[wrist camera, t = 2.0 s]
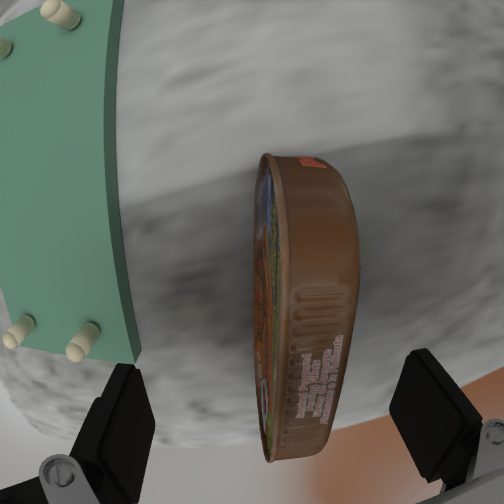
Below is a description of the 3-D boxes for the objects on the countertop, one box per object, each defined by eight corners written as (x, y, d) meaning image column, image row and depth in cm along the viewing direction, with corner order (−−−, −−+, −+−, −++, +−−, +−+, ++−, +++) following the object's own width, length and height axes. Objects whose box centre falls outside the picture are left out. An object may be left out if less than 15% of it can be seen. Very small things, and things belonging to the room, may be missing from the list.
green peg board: (125, -11, 12) (94, -47, 7) (141, 350, 19) (119, 397, 14) (5, 34, 12) (-37, 22, 7) (30, 335, 19) (-2, 369, 14)
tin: (254, 153, 15) (259, 153, 7) (315, 154, 15) (381, 159, 7) (253, 386, 20) (255, 490, 12) (298, 385, 20) (317, 486, 12)
